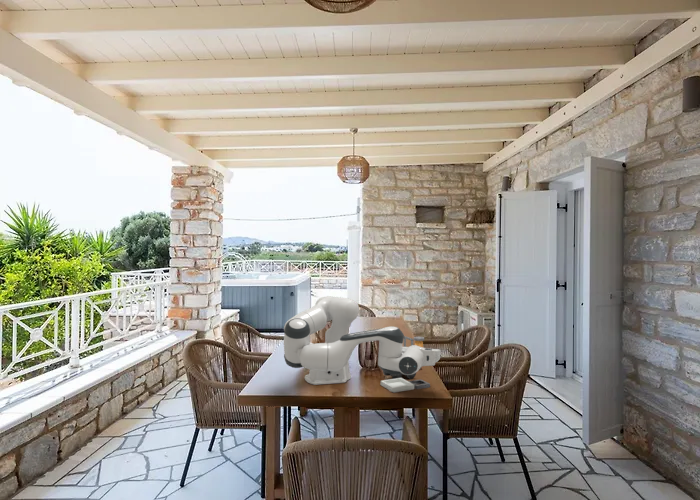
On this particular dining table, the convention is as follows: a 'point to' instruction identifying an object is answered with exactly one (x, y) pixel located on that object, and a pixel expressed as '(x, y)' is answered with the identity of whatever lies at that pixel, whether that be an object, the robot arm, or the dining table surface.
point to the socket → (420, 384)
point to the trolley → (401, 373)
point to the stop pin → (419, 341)
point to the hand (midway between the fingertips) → (419, 349)
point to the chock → (388, 377)
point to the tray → (397, 385)
